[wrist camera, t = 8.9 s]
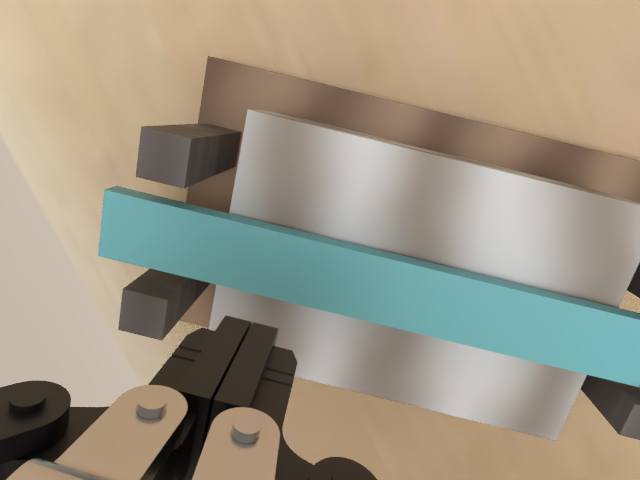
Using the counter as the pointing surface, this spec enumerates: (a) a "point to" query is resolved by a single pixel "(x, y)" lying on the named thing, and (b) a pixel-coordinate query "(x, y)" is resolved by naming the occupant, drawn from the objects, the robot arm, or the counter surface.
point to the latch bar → (371, 285)
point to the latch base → (400, 235)
